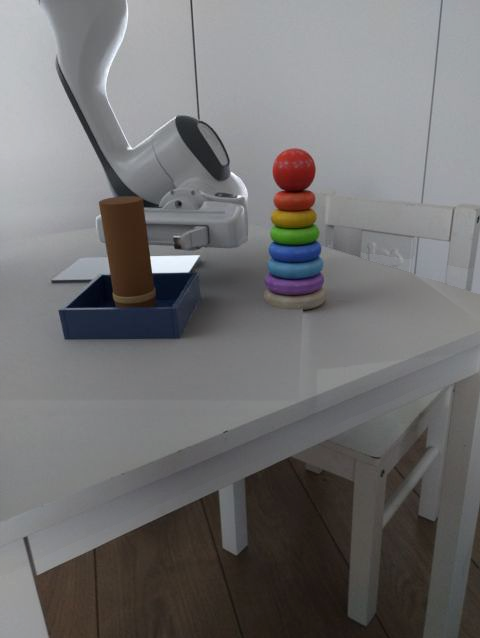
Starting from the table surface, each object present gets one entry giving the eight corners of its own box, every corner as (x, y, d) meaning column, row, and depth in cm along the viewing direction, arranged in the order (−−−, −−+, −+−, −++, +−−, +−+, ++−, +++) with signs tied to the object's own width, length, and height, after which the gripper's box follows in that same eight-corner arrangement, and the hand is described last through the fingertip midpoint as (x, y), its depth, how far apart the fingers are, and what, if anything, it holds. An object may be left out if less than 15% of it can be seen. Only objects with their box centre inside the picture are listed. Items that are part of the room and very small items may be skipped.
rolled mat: (111, 324, 67) (91, 204, 62) (123, 309, 72) (106, 196, 66) (152, 324, 67) (136, 203, 61) (162, 309, 71) (148, 195, 66)
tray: (65, 344, 64) (58, 310, 63) (104, 303, 76) (99, 273, 74) (180, 343, 63) (176, 308, 61) (201, 302, 75) (198, 272, 73)
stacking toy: (333, 309, 70) (335, 150, 62) (270, 316, 69) (263, 154, 61) (317, 289, 77) (317, 144, 70) (259, 295, 76) (253, 147, 69)
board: (52, 286, 84) (50, 280, 83) (82, 263, 95) (80, 257, 94) (185, 284, 82) (185, 277, 82) (200, 261, 93) (200, 255, 92)
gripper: (122, 194, 83) (66, 213, 71) (256, 196, 77) (218, 217, 65) (128, 237, 85) (75, 262, 74) (258, 242, 80) (222, 271, 68)
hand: (143, 241), depth 69 cm, fingers open, 8 cm apart
